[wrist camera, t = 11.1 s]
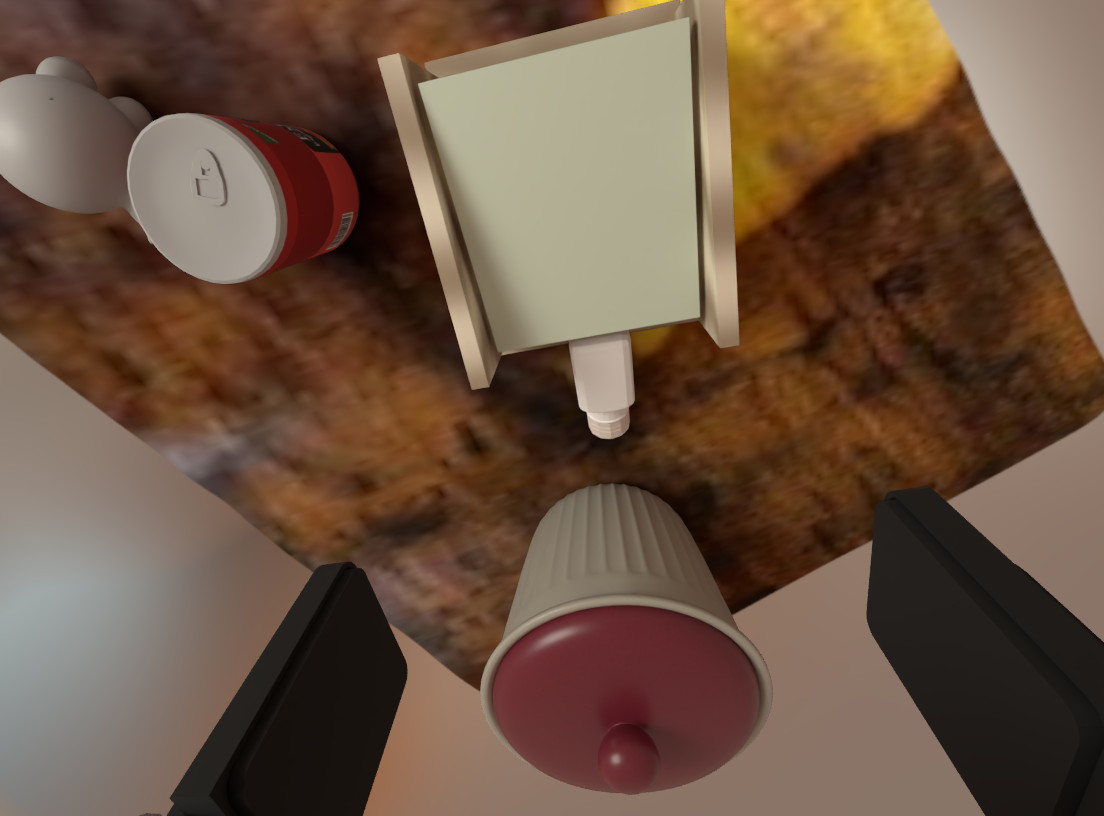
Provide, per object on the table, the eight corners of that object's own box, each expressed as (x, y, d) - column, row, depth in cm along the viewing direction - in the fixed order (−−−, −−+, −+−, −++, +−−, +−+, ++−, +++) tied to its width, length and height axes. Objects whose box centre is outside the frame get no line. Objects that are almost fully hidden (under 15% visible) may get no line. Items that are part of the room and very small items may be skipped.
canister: (584, 632, 52) (589, 898, 33) (470, 513, 47) (397, 756, 28) (745, 554, 47) (859, 818, 28) (639, 410, 41) (693, 621, 22)
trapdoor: (426, 81, 25) (417, 83, 23) (679, 18, 23) (689, 16, 21) (501, 336, 33) (498, 352, 31) (692, 302, 31) (699, 317, 29)
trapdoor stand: (433, 68, 32) (368, 25, 22) (673, 8, 30) (721, -68, 20) (502, 346, 39) (477, 408, 30) (697, 312, 38) (740, 365, 28)
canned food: (347, 121, 33) (249, 103, 23) (375, 248, 37) (301, 279, 27) (235, 133, 34) (94, 120, 24) (274, 257, 37) (164, 291, 27)
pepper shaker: (568, 347, 32) (585, 446, 39) (631, 338, 32) (638, 439, 39) (565, 312, 35) (582, 410, 42) (623, 303, 35) (631, 403, 41)
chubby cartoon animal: (213, 245, 40) (179, 301, 34) (12, 127, 33) (-78, 170, 26) (261, 173, 37) (234, 219, 31) (54, 28, 30) (-35, 50, 24)
